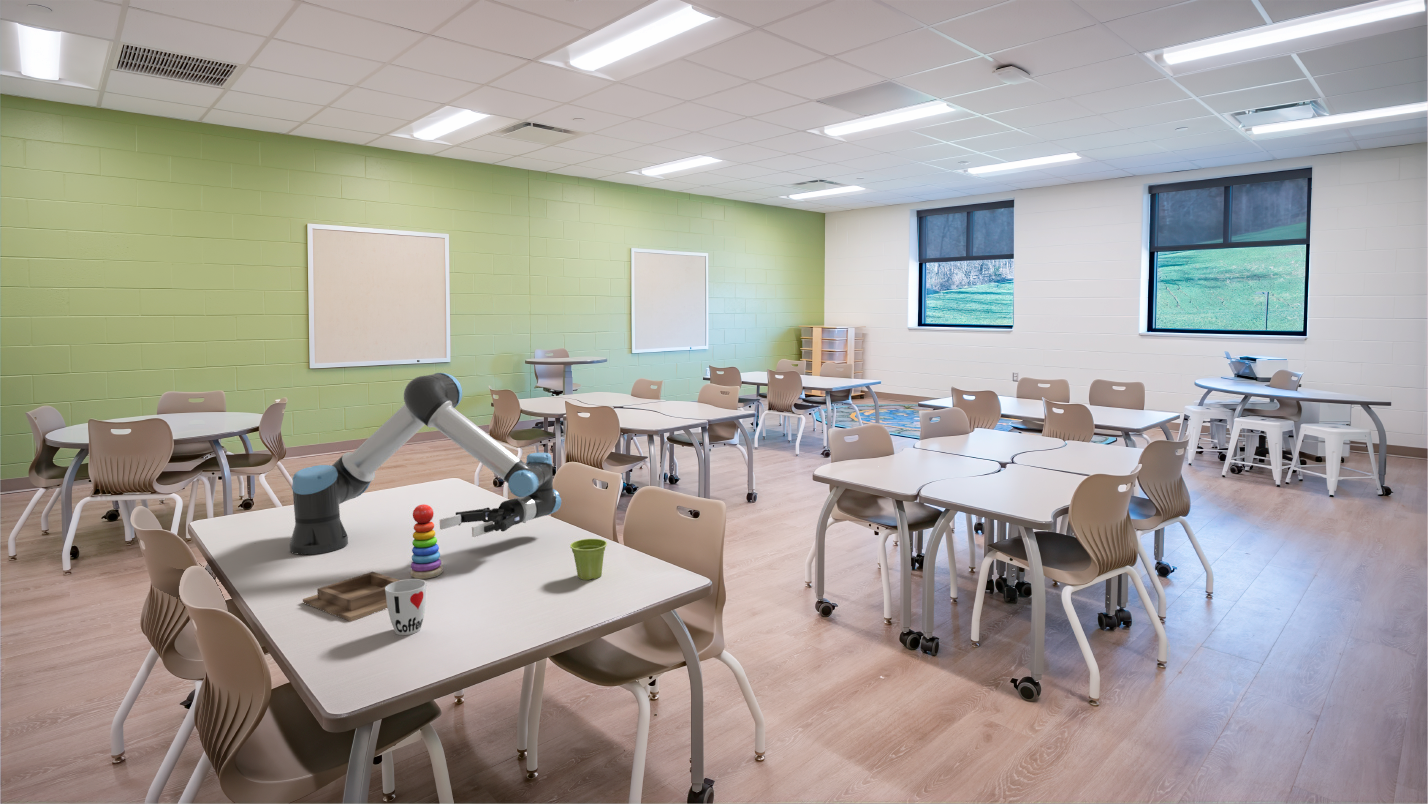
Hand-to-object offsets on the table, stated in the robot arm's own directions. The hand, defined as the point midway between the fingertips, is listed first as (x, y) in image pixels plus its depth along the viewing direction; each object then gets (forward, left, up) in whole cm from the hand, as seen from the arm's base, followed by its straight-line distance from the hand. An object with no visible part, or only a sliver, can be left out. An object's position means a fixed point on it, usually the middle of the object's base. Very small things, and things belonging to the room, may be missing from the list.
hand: (456, 528), depth 201 cm
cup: (+27, -34, -10) cm, 44 cm away
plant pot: (+37, +12, -10) cm, 40 cm away
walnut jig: (+2, -29, -10) cm, 30 cm away
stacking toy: (0, -10, -10) cm, 14 cm away
